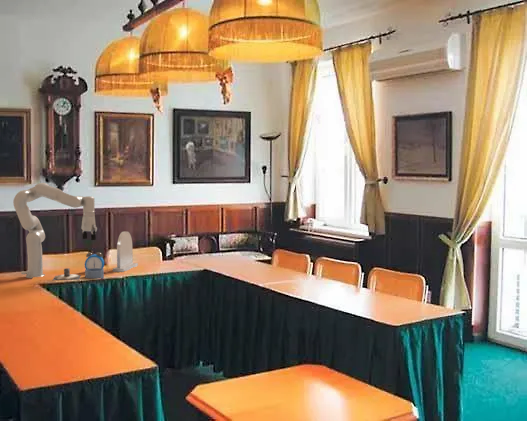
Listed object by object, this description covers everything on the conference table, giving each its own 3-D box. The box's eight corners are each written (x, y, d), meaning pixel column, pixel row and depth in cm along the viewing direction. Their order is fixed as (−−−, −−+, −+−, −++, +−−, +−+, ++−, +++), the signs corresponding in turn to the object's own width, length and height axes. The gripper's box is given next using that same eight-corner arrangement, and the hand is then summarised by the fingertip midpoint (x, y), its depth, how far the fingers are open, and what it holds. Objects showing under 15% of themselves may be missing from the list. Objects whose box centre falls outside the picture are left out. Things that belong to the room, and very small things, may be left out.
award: (126, 265, 494) (126, 229, 492) (137, 265, 492) (137, 229, 490) (112, 271, 466) (111, 233, 464) (123, 272, 465) (123, 233, 463)
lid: (54, 280, 427) (53, 271, 426) (56, 276, 442) (56, 267, 441) (77, 279, 430) (77, 270, 429) (79, 275, 444) (79, 266, 444)
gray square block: (84, 280, 432) (84, 271, 432) (86, 277, 444) (85, 268, 444) (103, 279, 435) (103, 270, 434) (104, 276, 446) (103, 268, 446)
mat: (52, 281, 426) (52, 280, 426) (55, 277, 442) (55, 275, 442) (79, 281, 429) (79, 279, 429) (81, 276, 446) (81, 275, 446)
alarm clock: (84, 274, 455) (84, 253, 454) (85, 272, 461) (85, 251, 460) (103, 273, 457) (103, 252, 455) (104, 272, 463) (104, 251, 462)
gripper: (76, 214, 446) (77, 238, 447) (91, 215, 435) (92, 240, 436) (86, 213, 452) (86, 237, 453) (101, 214, 441) (101, 239, 442)
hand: (89, 239), depth 445 cm, fingers open, 9 cm apart
